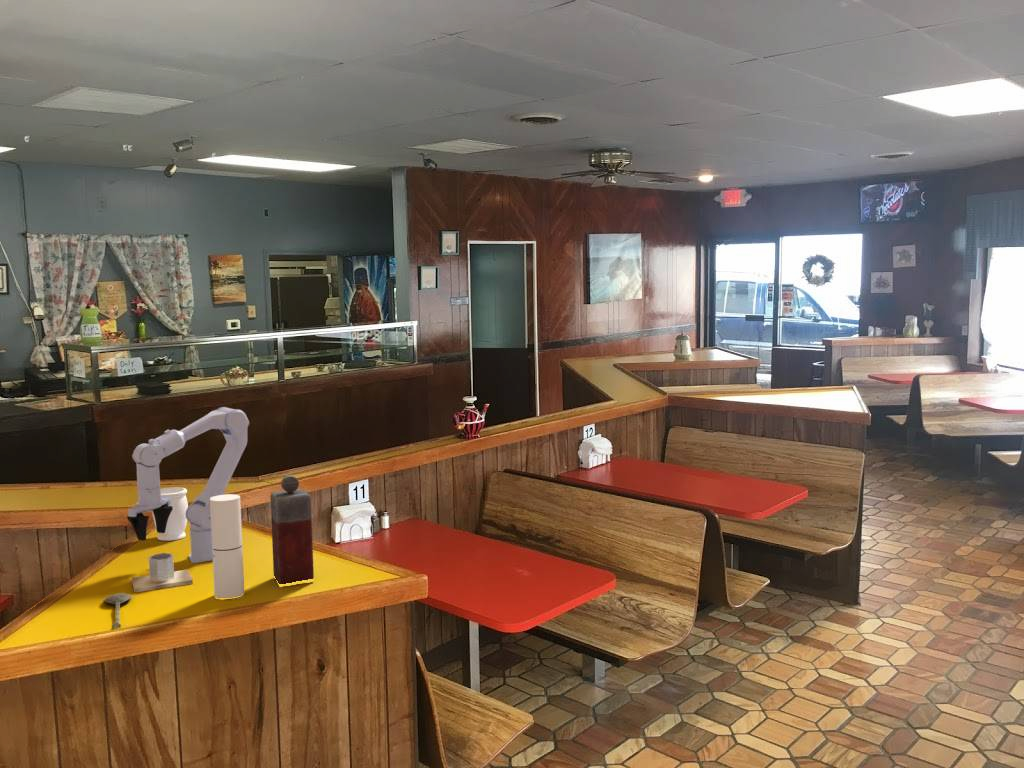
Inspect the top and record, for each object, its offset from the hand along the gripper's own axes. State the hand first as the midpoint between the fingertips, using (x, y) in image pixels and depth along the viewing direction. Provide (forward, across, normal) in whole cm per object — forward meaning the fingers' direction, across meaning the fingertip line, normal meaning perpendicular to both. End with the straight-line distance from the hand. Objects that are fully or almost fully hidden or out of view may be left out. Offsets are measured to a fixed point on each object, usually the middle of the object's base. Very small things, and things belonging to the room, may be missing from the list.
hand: (151, 536), depth 237 cm
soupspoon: (+10, +29, +14) cm, 34 cm away
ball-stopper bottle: (+10, -4, +42) cm, 43 cm away
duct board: (+9, +8, +10) cm, 16 cm away
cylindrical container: (+10, +12, +33) cm, 37 cm away
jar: (+10, -28, -17) cm, 34 cm away
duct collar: (+8, +8, +10) cm, 16 cm away
